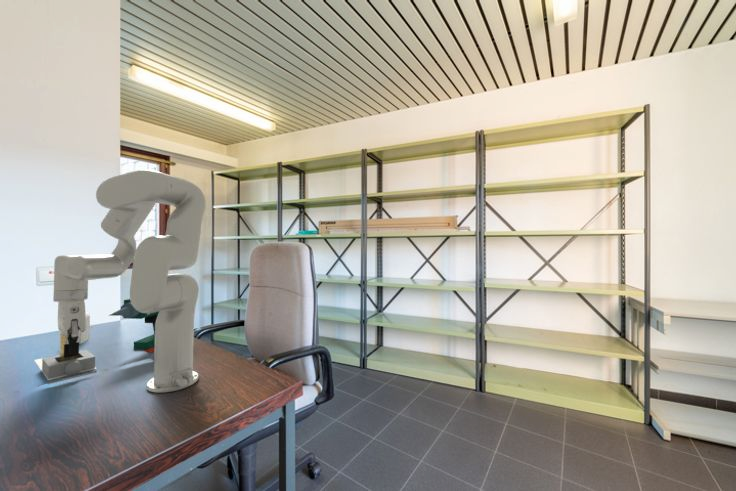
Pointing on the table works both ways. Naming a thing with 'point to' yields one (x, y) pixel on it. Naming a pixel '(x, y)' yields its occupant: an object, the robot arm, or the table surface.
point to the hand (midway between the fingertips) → (69, 354)
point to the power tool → (132, 313)
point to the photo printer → (85, 335)
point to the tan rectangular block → (62, 342)
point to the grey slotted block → (66, 366)
